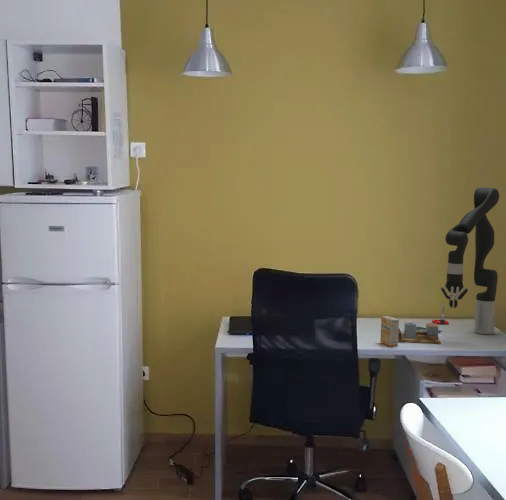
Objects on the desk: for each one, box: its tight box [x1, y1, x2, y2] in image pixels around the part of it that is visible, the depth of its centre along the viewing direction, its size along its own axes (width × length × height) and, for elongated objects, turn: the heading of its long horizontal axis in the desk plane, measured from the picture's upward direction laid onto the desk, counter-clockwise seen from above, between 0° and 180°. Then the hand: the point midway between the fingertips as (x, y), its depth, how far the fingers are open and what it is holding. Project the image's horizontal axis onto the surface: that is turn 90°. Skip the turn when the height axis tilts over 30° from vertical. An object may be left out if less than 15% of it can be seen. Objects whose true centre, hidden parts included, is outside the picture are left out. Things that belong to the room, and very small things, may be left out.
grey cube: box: [425, 322, 439, 337], centre depth 322 cm, size 5×6×6 cm
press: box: [398, 328, 442, 345], centre depth 323 cm, size 20×12×4 cm, turn 83°
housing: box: [403, 321, 417, 339], centre depth 323 cm, size 5×4×8 cm
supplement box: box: [379, 315, 400, 348], centre depth 314 cm, size 8×5×13 cm, turn 23°
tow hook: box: [431, 300, 450, 325], centre depth 361 cm, size 8×13×9 cm
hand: (453, 307), depth 319 cm, fingers closed
